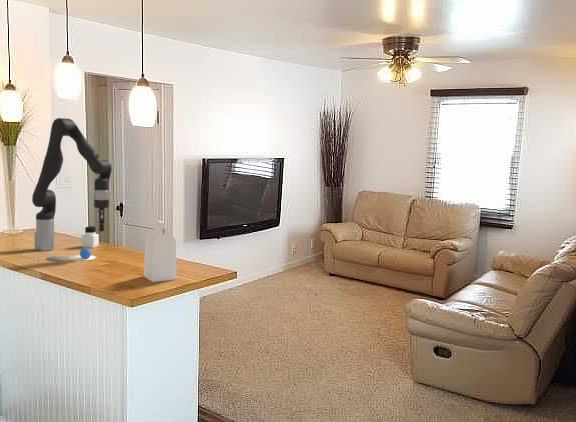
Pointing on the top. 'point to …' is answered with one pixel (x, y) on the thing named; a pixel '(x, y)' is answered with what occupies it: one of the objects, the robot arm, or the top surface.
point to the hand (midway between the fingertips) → (101, 231)
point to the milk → (160, 255)
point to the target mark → (80, 258)
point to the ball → (85, 253)
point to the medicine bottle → (90, 238)
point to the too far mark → (56, 258)
